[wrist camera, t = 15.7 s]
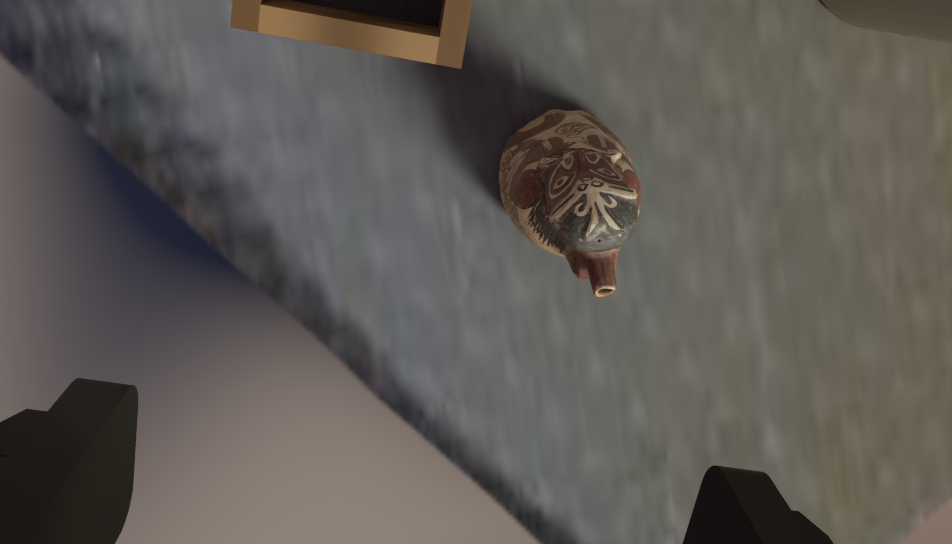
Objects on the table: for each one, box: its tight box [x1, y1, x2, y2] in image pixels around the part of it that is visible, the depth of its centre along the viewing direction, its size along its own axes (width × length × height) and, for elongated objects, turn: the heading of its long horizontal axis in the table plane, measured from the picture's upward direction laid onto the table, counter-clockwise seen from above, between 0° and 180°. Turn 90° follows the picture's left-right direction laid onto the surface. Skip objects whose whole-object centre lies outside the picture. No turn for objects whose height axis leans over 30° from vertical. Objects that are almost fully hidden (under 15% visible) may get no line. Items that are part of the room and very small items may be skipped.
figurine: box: [499, 109, 642, 297], centre depth 42 cm, size 7×7×12 cm
